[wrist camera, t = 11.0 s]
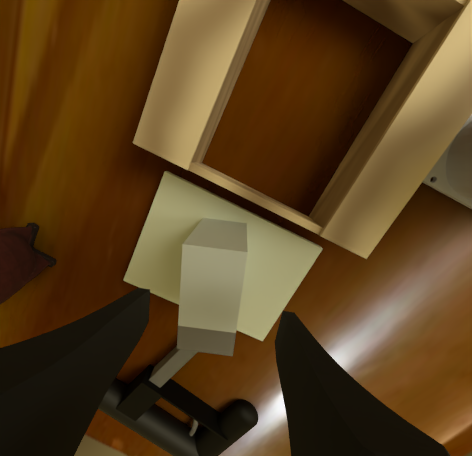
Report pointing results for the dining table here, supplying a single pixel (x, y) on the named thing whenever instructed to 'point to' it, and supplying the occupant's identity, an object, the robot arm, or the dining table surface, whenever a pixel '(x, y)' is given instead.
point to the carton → (370, 136)
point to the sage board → (258, 257)
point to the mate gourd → (20, 259)
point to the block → (211, 286)
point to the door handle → (166, 426)
